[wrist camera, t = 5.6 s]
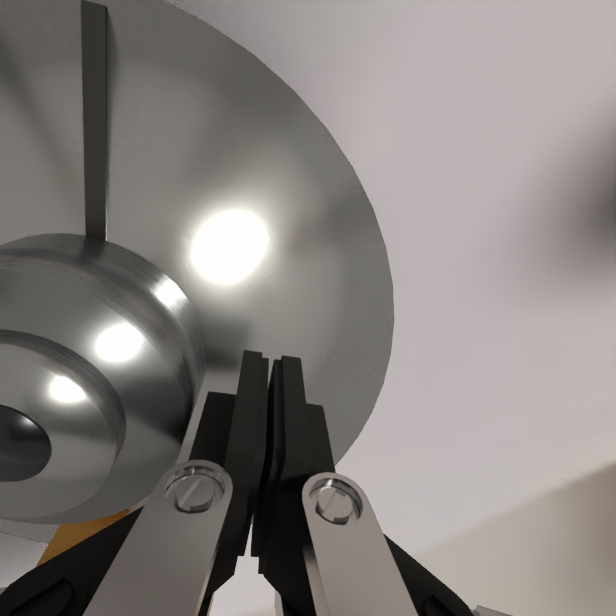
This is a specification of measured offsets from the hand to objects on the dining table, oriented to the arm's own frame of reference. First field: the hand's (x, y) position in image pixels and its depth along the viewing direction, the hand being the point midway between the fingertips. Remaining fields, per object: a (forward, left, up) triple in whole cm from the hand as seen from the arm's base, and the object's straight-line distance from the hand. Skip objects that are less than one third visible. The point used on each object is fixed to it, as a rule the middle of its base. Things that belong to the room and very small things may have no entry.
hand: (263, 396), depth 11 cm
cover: (0, -5, -1) cm, 5 cm away
